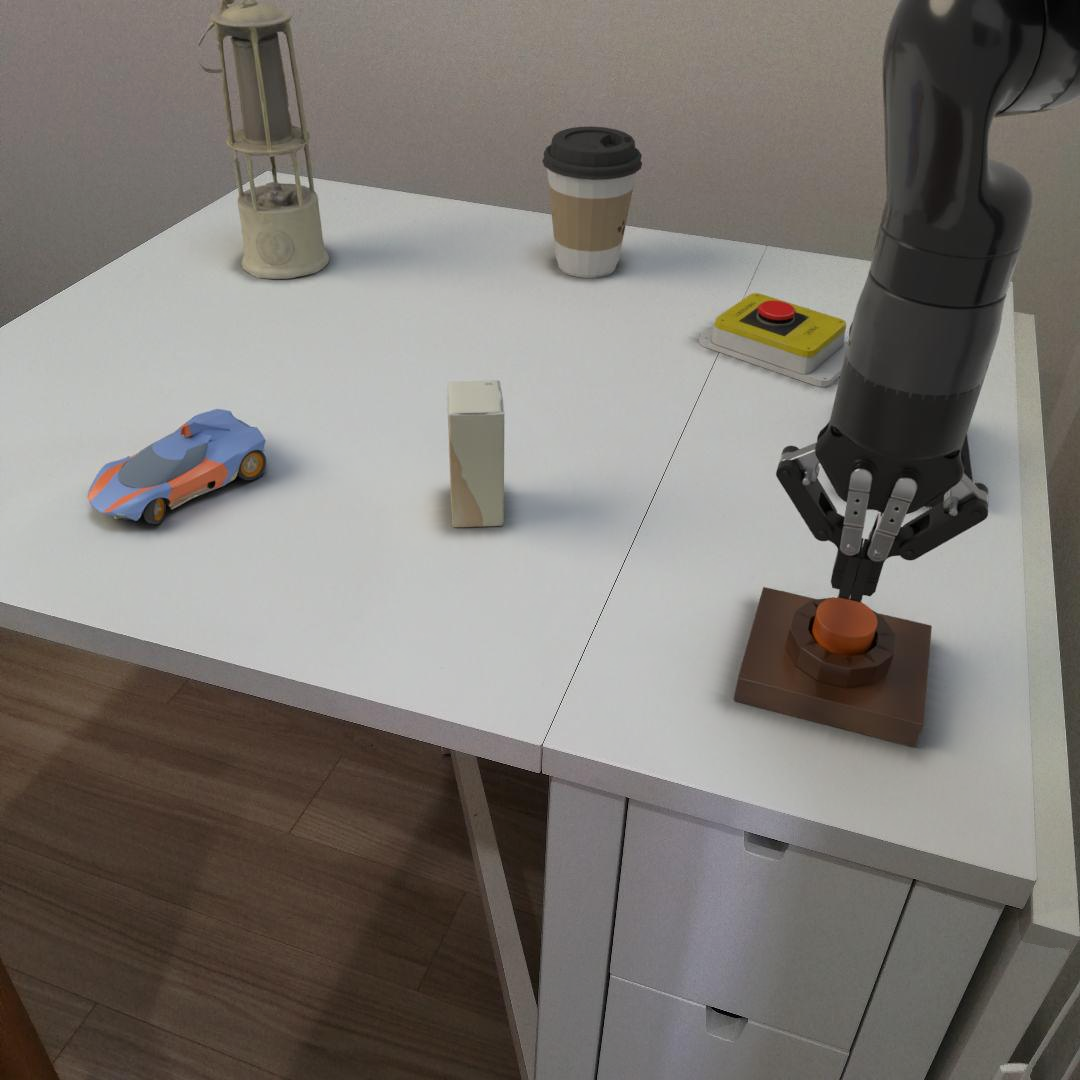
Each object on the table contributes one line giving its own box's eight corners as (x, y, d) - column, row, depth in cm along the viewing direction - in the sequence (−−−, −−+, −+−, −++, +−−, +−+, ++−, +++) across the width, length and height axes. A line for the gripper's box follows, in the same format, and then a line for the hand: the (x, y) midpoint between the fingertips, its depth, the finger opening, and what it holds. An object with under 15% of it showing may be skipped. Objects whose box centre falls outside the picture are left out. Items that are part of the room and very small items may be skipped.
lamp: (284, 287, 121) (244, -1, 102) (208, 258, 127) (157, -19, 108) (347, 258, 128) (320, -18, 109) (272, 232, 133) (234, -34, 115)
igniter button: (874, 624, 73) (880, 605, 72) (869, 662, 70) (874, 643, 69) (816, 610, 74) (820, 591, 73) (808, 647, 71) (812, 628, 70)
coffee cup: (637, 287, 123) (647, 157, 114) (539, 284, 123) (542, 154, 114) (631, 247, 132) (640, 124, 123) (540, 245, 132) (543, 122, 123)
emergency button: (743, 276, 115) (872, 316, 108) (738, 313, 118) (863, 354, 111) (700, 305, 110) (833, 349, 103) (695, 343, 112) (825, 389, 105)
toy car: (73, 504, 88) (56, 450, 84) (226, 434, 97) (216, 382, 93) (126, 545, 83) (110, 490, 80) (280, 468, 92) (272, 416, 89)
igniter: (924, 647, 76) (938, 606, 74) (915, 748, 69) (930, 705, 66) (758, 608, 79) (767, 567, 77) (733, 700, 72) (741, 658, 69)
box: (450, 492, 90) (446, 378, 83) (501, 490, 90) (500, 376, 84) (452, 530, 86) (447, 413, 79) (505, 528, 86) (505, 411, 79)
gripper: (786, 365, 57) (740, 604, 68) (1045, 412, 54) (954, 655, 65) (804, 308, 63) (759, 537, 74) (1040, 347, 60) (957, 581, 70)
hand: (851, 592), depth 69 cm, fingers closed
